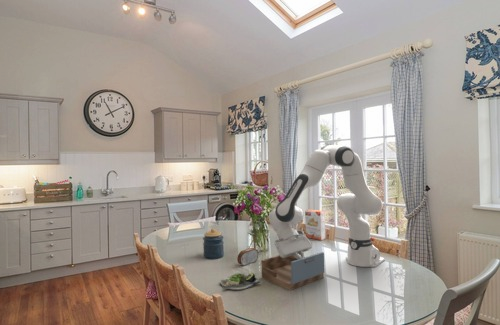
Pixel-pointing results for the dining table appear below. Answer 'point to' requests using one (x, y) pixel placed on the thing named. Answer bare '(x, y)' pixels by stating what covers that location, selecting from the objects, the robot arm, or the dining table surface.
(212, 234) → the canister
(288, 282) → the wooden tray box
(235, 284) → the salad plate
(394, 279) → the dining table surface
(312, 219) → the cracker box
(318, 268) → the panel
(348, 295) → the dining table surface
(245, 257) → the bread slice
